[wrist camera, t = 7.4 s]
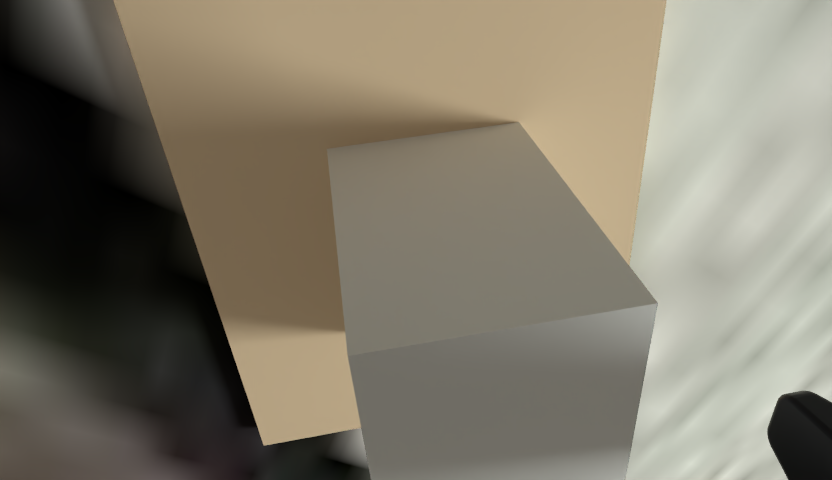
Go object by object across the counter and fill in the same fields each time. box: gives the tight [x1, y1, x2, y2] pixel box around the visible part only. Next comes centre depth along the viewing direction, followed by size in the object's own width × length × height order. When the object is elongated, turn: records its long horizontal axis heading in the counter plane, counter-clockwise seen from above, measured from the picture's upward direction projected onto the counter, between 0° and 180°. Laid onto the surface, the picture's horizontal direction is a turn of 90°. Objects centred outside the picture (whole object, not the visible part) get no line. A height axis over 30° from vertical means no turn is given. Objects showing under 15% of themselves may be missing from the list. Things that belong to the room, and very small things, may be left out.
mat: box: [113, 0, 666, 445], centre depth 14 cm, size 10×12×1 cm
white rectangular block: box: [327, 122, 658, 480], centre depth 12 cm, size 4×5×6 cm
